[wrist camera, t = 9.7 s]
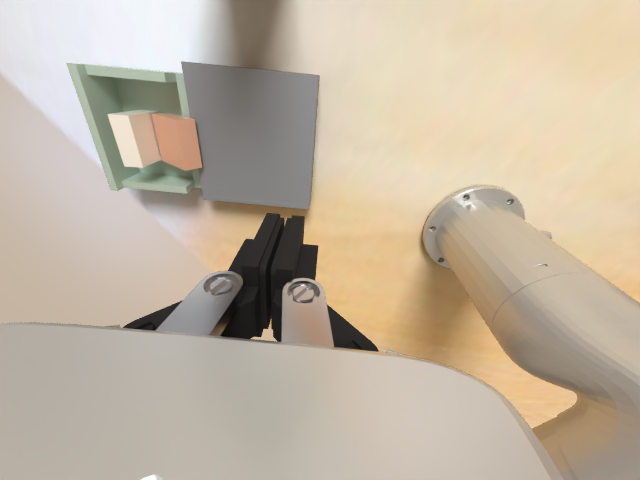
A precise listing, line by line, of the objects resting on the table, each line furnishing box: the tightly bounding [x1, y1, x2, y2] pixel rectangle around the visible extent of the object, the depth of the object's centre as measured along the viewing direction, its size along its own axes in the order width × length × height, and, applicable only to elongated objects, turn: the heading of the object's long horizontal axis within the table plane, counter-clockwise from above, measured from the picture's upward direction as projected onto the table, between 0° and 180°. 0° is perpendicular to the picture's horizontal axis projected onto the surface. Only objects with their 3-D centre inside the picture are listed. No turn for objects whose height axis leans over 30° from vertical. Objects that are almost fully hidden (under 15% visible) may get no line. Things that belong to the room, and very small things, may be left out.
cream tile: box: [107, 110, 162, 168], centre depth 28 cm, size 5×5×2 cm
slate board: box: [181, 62, 319, 209], centre depth 30 cm, size 13×14×3 cm
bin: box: [67, 63, 201, 194], centre depth 29 cm, size 9×12×5 cm
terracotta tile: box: [151, 113, 202, 171], centre depth 29 cm, size 5×5×2 cm
